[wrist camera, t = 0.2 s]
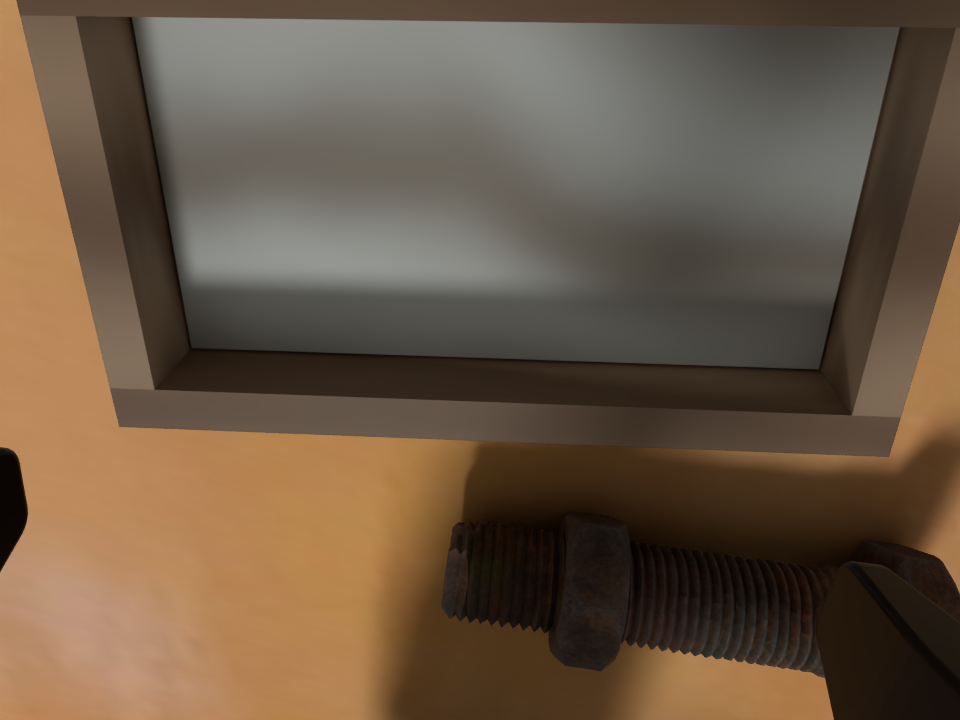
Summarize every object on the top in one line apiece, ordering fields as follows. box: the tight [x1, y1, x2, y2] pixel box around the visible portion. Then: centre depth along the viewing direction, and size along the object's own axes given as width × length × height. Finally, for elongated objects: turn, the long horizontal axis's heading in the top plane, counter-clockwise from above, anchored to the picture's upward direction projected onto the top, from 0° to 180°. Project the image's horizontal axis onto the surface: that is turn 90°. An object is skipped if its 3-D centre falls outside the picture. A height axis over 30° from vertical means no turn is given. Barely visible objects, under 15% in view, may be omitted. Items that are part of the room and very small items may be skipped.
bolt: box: [442, 511, 960, 678], centre depth 24 cm, size 6×5×15 cm
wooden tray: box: [17, 0, 960, 457], centre depth 19 cm, size 11×20×4 cm, turn 90°
